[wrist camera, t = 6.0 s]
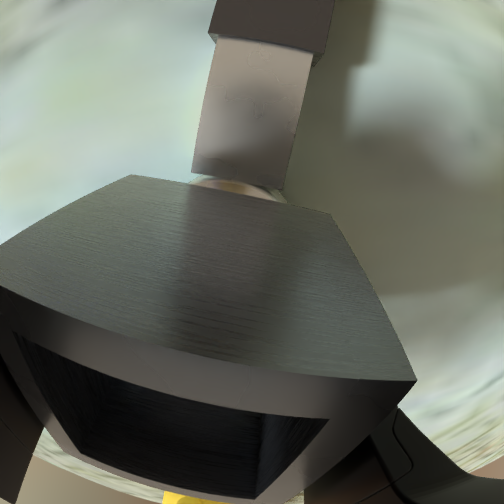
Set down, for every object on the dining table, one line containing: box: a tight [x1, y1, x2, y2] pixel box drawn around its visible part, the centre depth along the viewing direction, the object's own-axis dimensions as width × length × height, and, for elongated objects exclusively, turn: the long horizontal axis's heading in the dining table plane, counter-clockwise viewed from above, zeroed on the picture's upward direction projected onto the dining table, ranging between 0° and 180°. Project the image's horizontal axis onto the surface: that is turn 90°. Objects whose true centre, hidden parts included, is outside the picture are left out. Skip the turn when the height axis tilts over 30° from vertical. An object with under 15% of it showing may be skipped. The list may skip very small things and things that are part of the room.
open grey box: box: [0, 175, 417, 504], centre depth 6 cm, size 6×6×6 cm
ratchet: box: [187, 0, 335, 204], centre depth 8 cm, size 16×6×6 cm, turn 169°
